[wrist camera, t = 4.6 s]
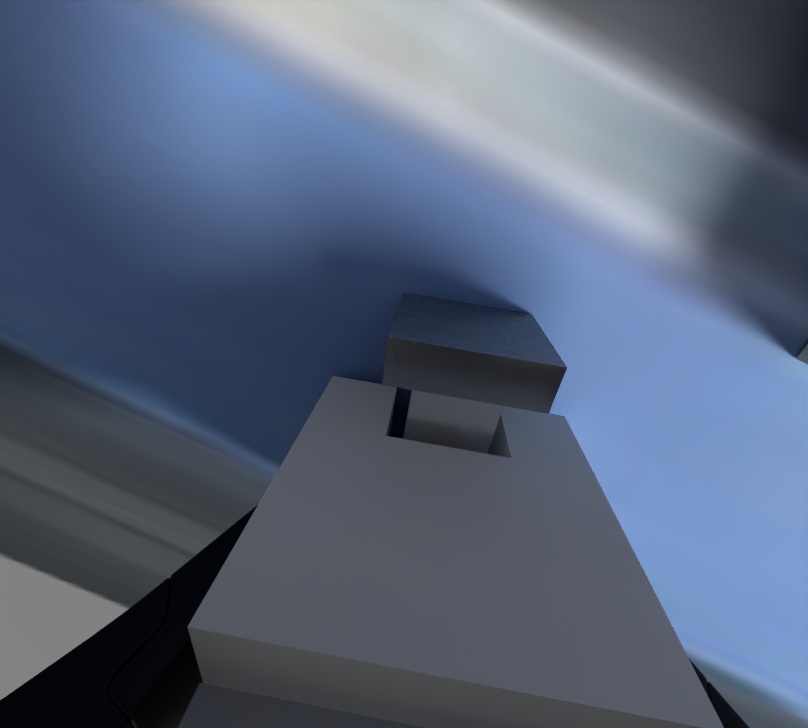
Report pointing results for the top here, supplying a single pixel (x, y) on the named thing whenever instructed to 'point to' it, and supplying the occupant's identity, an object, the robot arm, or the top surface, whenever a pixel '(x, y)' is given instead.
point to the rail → (467, 369)
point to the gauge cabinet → (804, 355)
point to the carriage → (436, 589)
